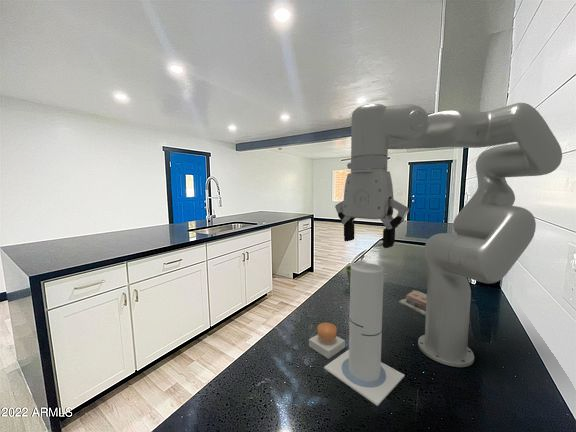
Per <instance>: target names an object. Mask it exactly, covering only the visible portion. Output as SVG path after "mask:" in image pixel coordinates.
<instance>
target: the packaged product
mask: <svg viewBox="0 0 576 432" xmlns="http://www.w3.org/2000/svg"><path fill="white" fill-rule="evenodd" d="M426 300H427V293H424V292H421V291H419V290H416V289H415V290H414V289H413V290H411V291H410V292H409V293H407V294H405V298H403V299H400V300H398V303H399V304H401V305H403V306H406V307H408V308H409V309H411V310H413V311H416V313H417V312H418V313H420V314H421V315H423V316H425V317H426Z"/></svg>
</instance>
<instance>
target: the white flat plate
mask: <svg viewBox="0 0 576 432" xmlns="http://www.w3.org/2000/svg"><path fill="white" fill-rule="evenodd" d="M323 370H326V372H327V373H329V374H331V375H333V376H334V377H335V378H337V379H338V380H339V381H341V382H343V384H345V385H347V386H348V387H350V388H351V389H352V390H353V391H355V392H356V393H358V394H359V395H361V396H362V397H364V398H365V399H366V400H368V401H370V402H371V403H372V404H373V405H375V406H377V407H378V406H380V404H381V403H382V402H383V401H384V400H385V399H386V398H387V397H388V395H389V394H390V393H391V392H392V391H393V390H394V389H395V388H396V387H397V386H398V385H399V383H400V382H401V381H402V380H403V379H404V378H405V374H404V373H402V372H400V371H398V370H396V369H395V368H393V367H392V366H389V365H387V364H385V363H384V362H382V361H381V370H380V377H379V379H378V380H376V381H373V382H365V381H361V380H359V379H357V378H355V377H354V376H353V375H352V374H351V373H350V371H349V349H347V350H345V352H343V353H341V354H340V355H338V356H337V357H335V358H334V359H333V360H331V361H330V362H329V363H327V364H326V365H324V366H323Z"/></svg>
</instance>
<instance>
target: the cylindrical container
mask: <svg viewBox="0 0 576 432" xmlns="http://www.w3.org/2000/svg"><path fill="white" fill-rule="evenodd" d="M350 265H351V272H350V288H349V294H350V295H349V327H348V328H349V334H348V335H349V337H348V350H349V371H350V373H351V374H352V375H353V376H354V377H355V378H357V379H359V380H361V381H365V382H373V381H376V380H378V379H379V377H380V370H381V362H382V338H383V337H382V336H383V334H382V331H383V329H382V328H383V306H384V305H383V304H384V303H383V302H384V300H383V299H384V295H383V294H384V277H385V276H384V275H385V274H384V269H385V268H384V267H383V266H381V265H379V264H376V263H370V262H356V263H353V264H350Z"/></svg>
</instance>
